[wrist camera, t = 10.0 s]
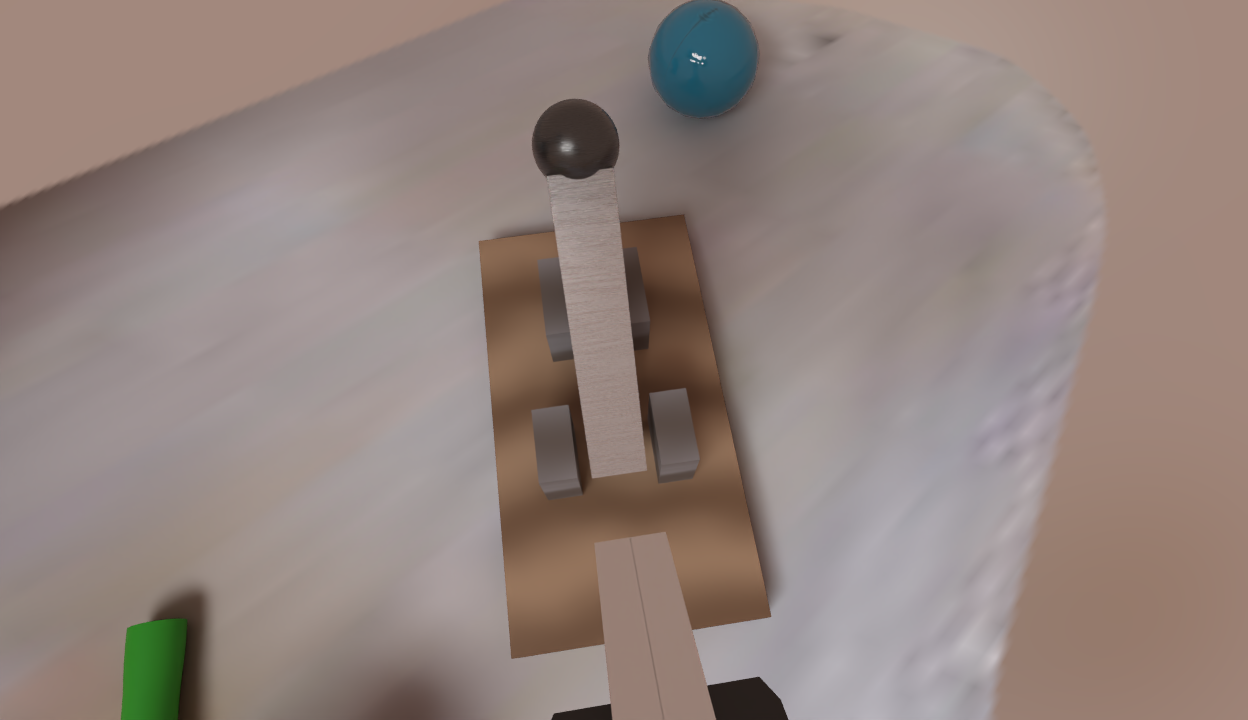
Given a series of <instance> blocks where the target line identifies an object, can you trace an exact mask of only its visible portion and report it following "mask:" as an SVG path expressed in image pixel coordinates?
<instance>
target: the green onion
mask: <svg viewBox="0 0 1248 720" xmlns="http://www.w3.org/2000/svg"><path fill="white" fill-rule="evenodd" d="M186 634H187V619H165V620H157V621H151V622H146V623H141V624H137V625H134V626H131V627H129V628H127V634H126V644H125V656H124V675H123V699H122V712H121V720H178V709H179V697H180V687H181V679H182V672H183V664H184V657H185V647H186Z"/></svg>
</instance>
